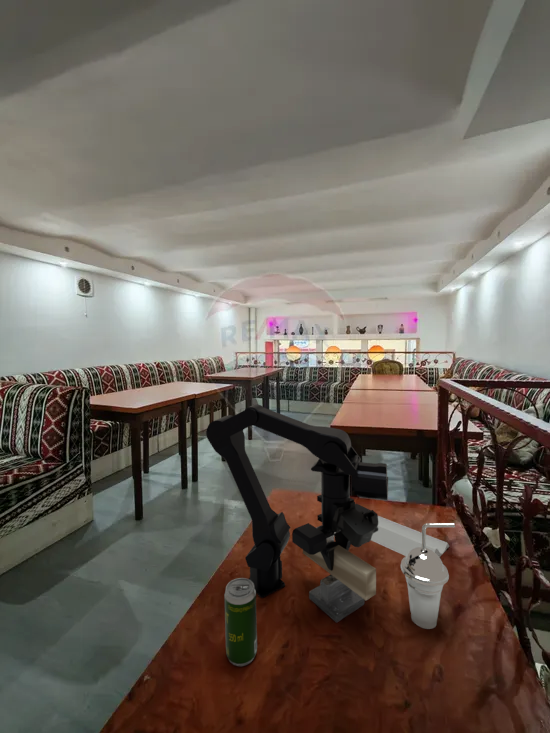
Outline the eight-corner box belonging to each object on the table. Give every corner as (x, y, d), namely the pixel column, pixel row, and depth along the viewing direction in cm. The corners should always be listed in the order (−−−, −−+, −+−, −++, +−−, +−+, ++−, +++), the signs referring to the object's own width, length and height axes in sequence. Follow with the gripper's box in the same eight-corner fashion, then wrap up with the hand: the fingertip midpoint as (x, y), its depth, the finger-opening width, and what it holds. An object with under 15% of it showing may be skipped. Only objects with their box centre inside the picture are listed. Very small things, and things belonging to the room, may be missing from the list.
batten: (366, 600, 63) (366, 574, 63) (302, 553, 78) (302, 531, 78) (375, 594, 65) (375, 568, 64) (312, 549, 79) (312, 527, 79)
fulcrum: (336, 622, 66) (336, 595, 66) (309, 598, 73) (308, 573, 72) (364, 604, 71) (364, 578, 70) (336, 582, 77) (336, 559, 77)
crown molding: (449, 550, 90) (449, 536, 90) (429, 570, 82) (429, 556, 82) (349, 509, 113) (349, 498, 113) (325, 522, 105) (325, 510, 105)
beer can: (256, 639, 63) (255, 575, 62) (258, 666, 57) (256, 597, 57) (226, 642, 62) (225, 578, 62) (225, 669, 57) (223, 600, 56)
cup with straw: (412, 596, 73) (413, 504, 71) (458, 621, 66) (459, 519, 65) (392, 618, 67) (392, 518, 66) (439, 648, 60) (441, 537, 59)
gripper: (330, 523, 58) (330, 611, 59) (397, 494, 69) (397, 569, 70) (289, 499, 68) (291, 576, 68) (355, 477, 78) (355, 544, 79)
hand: (335, 566), depth 71 cm, fingers closed on batten, 3 cm apart
